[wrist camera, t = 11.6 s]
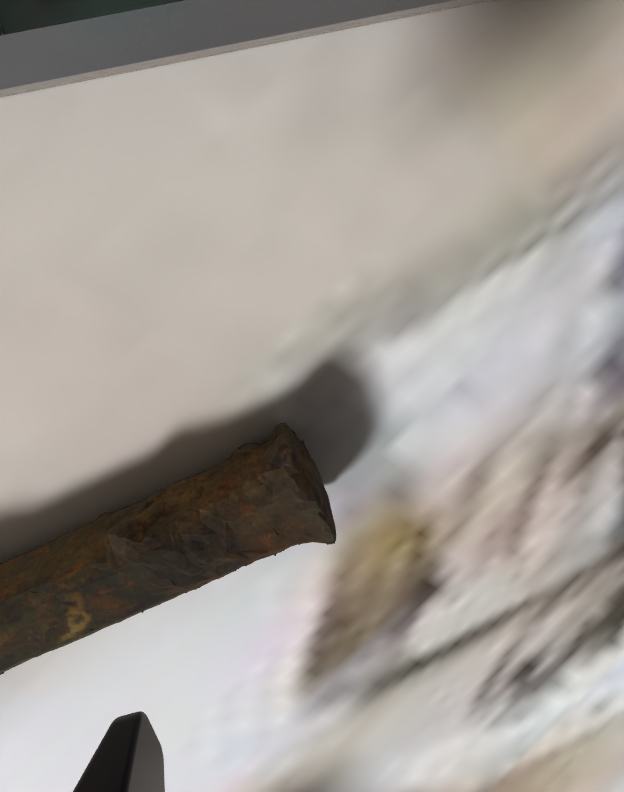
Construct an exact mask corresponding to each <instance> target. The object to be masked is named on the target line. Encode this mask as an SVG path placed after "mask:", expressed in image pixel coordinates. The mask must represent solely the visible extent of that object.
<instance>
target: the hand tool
mask: <svg viewBox="0 0 624 792" xmlns="http://www.w3.org/2000/svg"><path fill="white" fill-rule="evenodd" d="M335 541H336V529H335V523H334V520H333V516H332V511H331V507H330V503H329V498H328V495H327V492H326V490H325V488H324V485H323V482H322V480H321V477H320V475H319V472H318V470H317V467H316V465H315V463H314V461H313V459H312V458H311V456H310V454H309V452H308V450H307V448H306V446H305V444H304V441H300V440H299V439H298V437H297V436H296V434H295V433H294V432H293V431H292V430H291V429H290V428H289V427H288V426H287V425H286V423H281V424H279V425H278V427H277V428H276V429H275V431H274V432H273V434H272V436H271V438H270V440H269V441H268V442H266V443H264V444H263V445H259V444H256V443H245V444H243V445H241V446H240V447H239V448H238V450H237V451H235V452H234V453H233V455H232V457H231V459H229V460H227V461H225V462H223V463H221V464H218V465H216V466H214V467H213V468H211V469H209V470H207V471H205V472H203V473H200V474H198V475H195V476H193V477H190V478H187V479H184V480H181V481H178V482H176V483H174V484H172V485H171V486H169V487H166V488H163V489H161V490H159V491H158V492H157V493H155V494H154V495H153V496H151V497H150V498H147V499H145V500H143V501H140V502H138V503H135V504H133V505H131V506H129V507H127V508H124V509H122V510H119V511H117V512H107V513H103V514H102V515H101V516H100V517H99V518H98V519H97V520H95V521H93V522H91V523H89V524H87V525H85V526H83V527H81V528H79V529H77V530H75V531H72V532H69V533H67V534H64V535H62V536H60V537H59V538H57V539H55V540H54V541H52V542H50V543H48V544H45V545H43V546H41V547H39V548H37V549H34V550H32V551H30V552H28V553H25V554H23V555H21V556H18V557H16V558H14V559H12V560H10V561H7V562H5V563H2V564H0V675H1V674H3V673H4V672H5V671H7V670H9V669H11V668H13V667H15V666H18V665H20V664H22V663H24V662H26V661H28V660H30V659H32V658H34V657H38V656H40V655H42V654H44V653H46V652H49V651H52V650H55V649H57V648H60V647H62V646H65V645H67V644H70V643H72V642H74V641H77V640H79V639H81V638H84V637H86V636H88V635H91V634H93V633H95V632H97V631H99V630H101V629H103V628H105V627H108V626H110V625H113V624H115V623H119V622H121V621H123V620H125V619H127V618H129V617H131V616H134V615H136V614H138V613H140V612H142V613H143V612H144V611H145V610H147V609H149V608H152V607H155V606H157V605H160V604H161V603H163V602H166V601H168V600H171V599H173V598H175V597H177V596H179V595H181V594H183V593H187V592H189V591H191V590H196V589H197V588H200V587H201V586H203V585H205V584H207V583H209V582H211V581H213V580H216V579H219V578H221V577H224V576H225V575H227V574H229V573H231V572H234V571H236V570H237V569H239V568H240V567H242V566H247V565H249V564H251V563H253V562H255V561H256V560H259V559H263V558H265V557H268V556H271V555H275V556H276V554H277V553H280V552H282V551H284V550H285V549H287V548H289V547H291V546H294V545H297V544H299V545H300V544H303V543H310V542H318V543H326V544H327V545H328V544H333V543H335Z"/></svg>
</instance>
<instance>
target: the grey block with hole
mask: <svg viewBox="0 0 624 792" xmlns="http://www.w3.org/2000/svg"><path fill="white" fill-rule="evenodd" d="M485 1H490V0H184V1H179V2H173V3H168V4H163V5H158V6H153V7H147V8H142V9H137V10H132V11H126V12H121V13H116V14H111V15H105V16H100V17H95V18H90V19H85V20H79V21H74V22H69V23H64V24H58V25H53V26H48V27H43V28H37V29H32V30H27V31H22V32H17V33H11V34H6V35H5V34H4V31H3V29H2V26H1V23H0V97H5V96H10V95H15V94H20V93H25V92H30V91H35V90H40V89H46V88H51V87H56V86H61V85H66V84H71V83H76V82H81V81H86V80H91V79H96V78H101V77H106V76H111V75H116V74H121V73H126V72H131V71H137V70H142V69H147V68H152V67H157V66H162V65H167V64H172V63H177V62H182V61H187V60H192V59H197V58H202V57H207V56H212V55H217V54H222V53H228V52H233V51H238V50H243V49H248V48H253V47H258V46H263V45H268V44H273V43H278V42H283V41H288V40H293V39H298V38H303V37H308V36H313V35H318V34H324V33H329V32H334V31H339V30H344V29H349V28H354V27H359V26H364V25H369V24H374V23H379V22H384V21H389V20H394V19H399V18H404V17H409V16H415V15H420V14H425V13H430V12H435V11H440V10H445V9H450V8H455V7H460V6H465V5H470V4H475V3H480V2H485Z"/></svg>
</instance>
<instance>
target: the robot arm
mask: <svg viewBox="0 0 624 792" xmlns="http://www.w3.org/2000/svg"><path fill="white" fill-rule="evenodd" d="M73 792H165V785H164V759H163V752H162V748H161V745H160V742H159V740H158V738H157V736H156V734H155V732H154V730H153V728H152V726H151V723H150V721H149V719H148V717H147V716H146V714H145V713H144V712H135V713H131V714H128V715H124V716H120V717H118V718H116V719H115V720H114V721H113V722H112V724H111V725H110V727H109V729H108V731H107V732H106V734H105V736H104V738H103V739H102V741H101V743H100V745H99V747H98V748H97V750H96V752H95V754H94V755H93V757H92V759H91V761H90V762H89V764H88V766H87V768H86V769H85V771H84V773H83V775H82V777H81V778H80V780H79V782H78V784H77V785H76V787H75V789H74V791H73Z"/></svg>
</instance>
